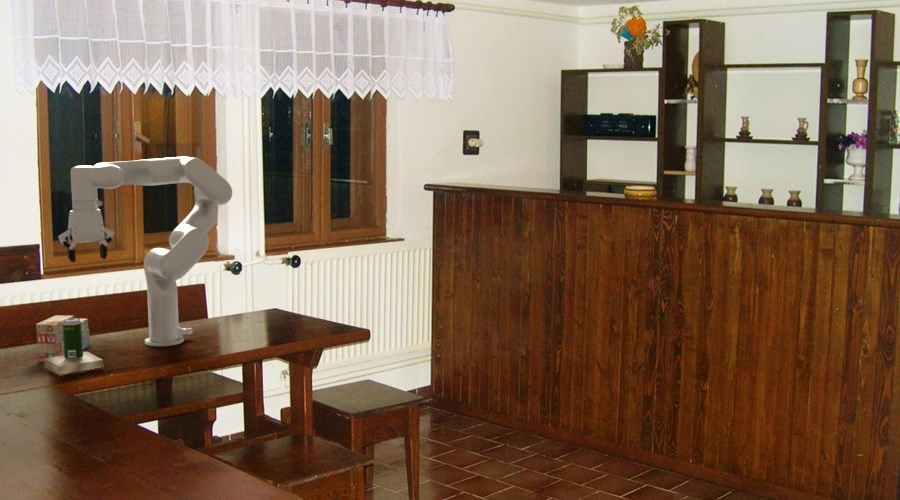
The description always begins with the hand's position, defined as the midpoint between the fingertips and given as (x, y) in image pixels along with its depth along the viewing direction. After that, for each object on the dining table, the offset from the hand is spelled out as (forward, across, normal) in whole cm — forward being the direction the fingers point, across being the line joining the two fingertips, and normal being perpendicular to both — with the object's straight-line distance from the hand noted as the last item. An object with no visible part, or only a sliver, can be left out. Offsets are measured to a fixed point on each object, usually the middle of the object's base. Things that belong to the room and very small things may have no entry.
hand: (88, 260), depth 327 cm
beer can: (+28, +11, +14) cm, 33 cm away
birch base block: (+30, +11, +14) cm, 35 cm away
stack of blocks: (+31, +7, -7) cm, 32 cm away
